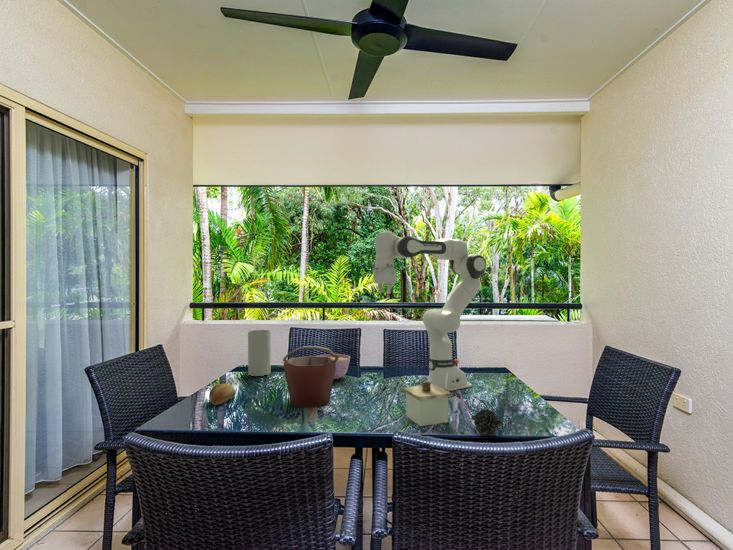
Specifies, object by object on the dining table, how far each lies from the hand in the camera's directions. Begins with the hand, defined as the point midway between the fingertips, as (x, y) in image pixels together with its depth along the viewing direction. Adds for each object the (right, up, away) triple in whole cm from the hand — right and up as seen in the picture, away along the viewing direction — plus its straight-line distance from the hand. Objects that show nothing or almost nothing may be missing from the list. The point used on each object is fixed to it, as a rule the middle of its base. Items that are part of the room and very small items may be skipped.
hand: (384, 293), depth 198 cm
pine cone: (+34, -48, -50) cm, 77 cm away
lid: (+15, -38, -37) cm, 55 cm away
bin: (+15, -48, -37) cm, 62 cm away
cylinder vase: (-71, -49, +39) cm, 94 cm away
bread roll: (-74, -49, -13) cm, 90 cm away
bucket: (-34, -48, -15) cm, 61 cm away
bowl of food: (-28, -49, +29) cm, 63 cm away
